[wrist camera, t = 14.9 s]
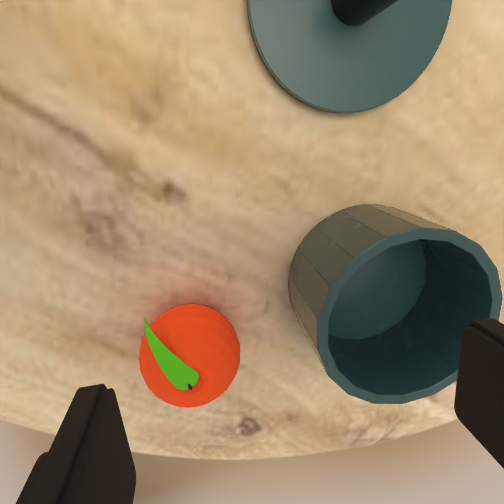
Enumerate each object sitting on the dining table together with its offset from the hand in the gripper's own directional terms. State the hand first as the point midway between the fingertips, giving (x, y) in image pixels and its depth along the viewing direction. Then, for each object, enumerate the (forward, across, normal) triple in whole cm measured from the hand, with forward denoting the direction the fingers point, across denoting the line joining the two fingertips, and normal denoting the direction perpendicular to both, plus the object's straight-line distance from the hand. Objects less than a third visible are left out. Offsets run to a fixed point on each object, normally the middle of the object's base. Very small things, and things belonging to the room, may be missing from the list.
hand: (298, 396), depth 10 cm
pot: (+18, -10, +6) cm, 21 cm away
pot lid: (+18, -9, -14) cm, 24 cm away
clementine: (+18, +4, +7) cm, 20 cm away
